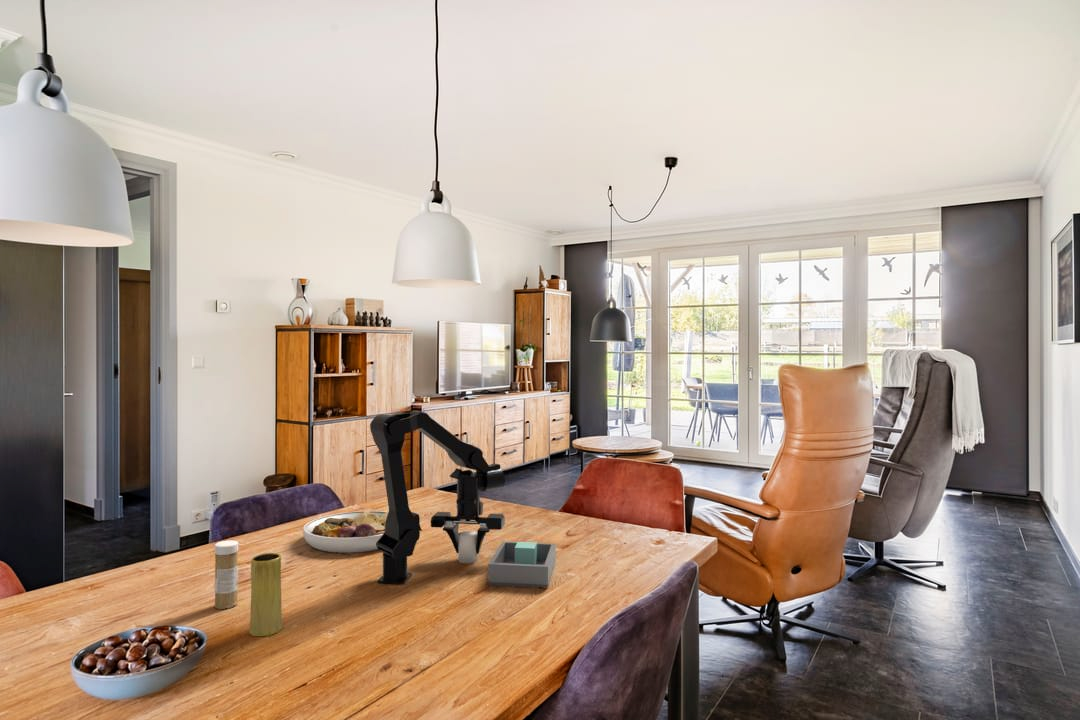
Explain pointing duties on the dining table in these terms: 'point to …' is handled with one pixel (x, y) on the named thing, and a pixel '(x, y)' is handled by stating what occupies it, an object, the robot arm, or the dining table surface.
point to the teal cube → (526, 553)
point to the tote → (521, 567)
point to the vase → (265, 595)
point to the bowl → (346, 531)
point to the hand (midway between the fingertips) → (467, 553)
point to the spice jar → (226, 574)
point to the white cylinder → (467, 547)
